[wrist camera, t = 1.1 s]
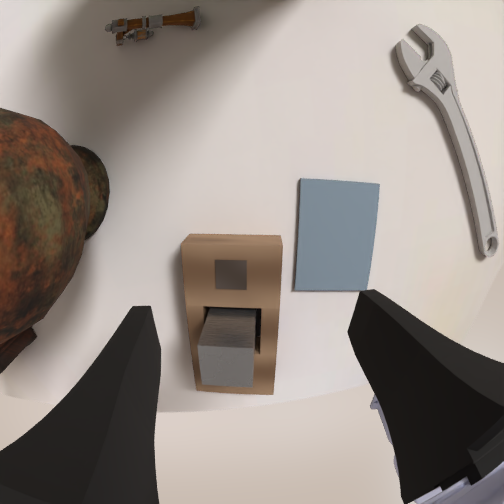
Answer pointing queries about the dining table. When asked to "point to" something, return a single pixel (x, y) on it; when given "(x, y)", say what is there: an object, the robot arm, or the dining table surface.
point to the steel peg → (228, 347)
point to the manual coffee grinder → (15, 347)
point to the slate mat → (335, 234)
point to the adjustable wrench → (452, 124)
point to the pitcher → (42, 216)
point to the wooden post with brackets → (151, 24)
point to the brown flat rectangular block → (234, 295)
